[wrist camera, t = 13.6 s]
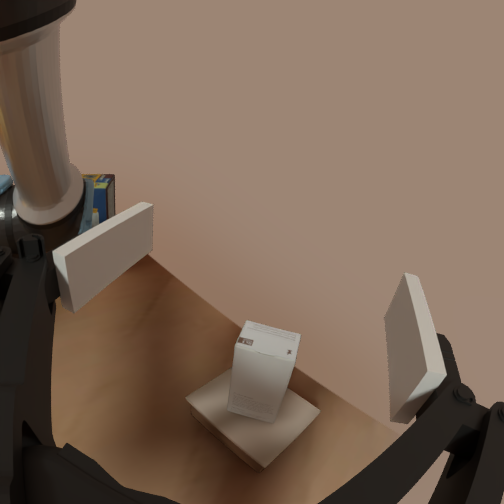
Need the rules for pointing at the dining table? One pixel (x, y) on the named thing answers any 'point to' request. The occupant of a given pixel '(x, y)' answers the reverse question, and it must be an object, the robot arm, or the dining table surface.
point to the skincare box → (261, 370)
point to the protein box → (102, 197)
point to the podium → (250, 422)
